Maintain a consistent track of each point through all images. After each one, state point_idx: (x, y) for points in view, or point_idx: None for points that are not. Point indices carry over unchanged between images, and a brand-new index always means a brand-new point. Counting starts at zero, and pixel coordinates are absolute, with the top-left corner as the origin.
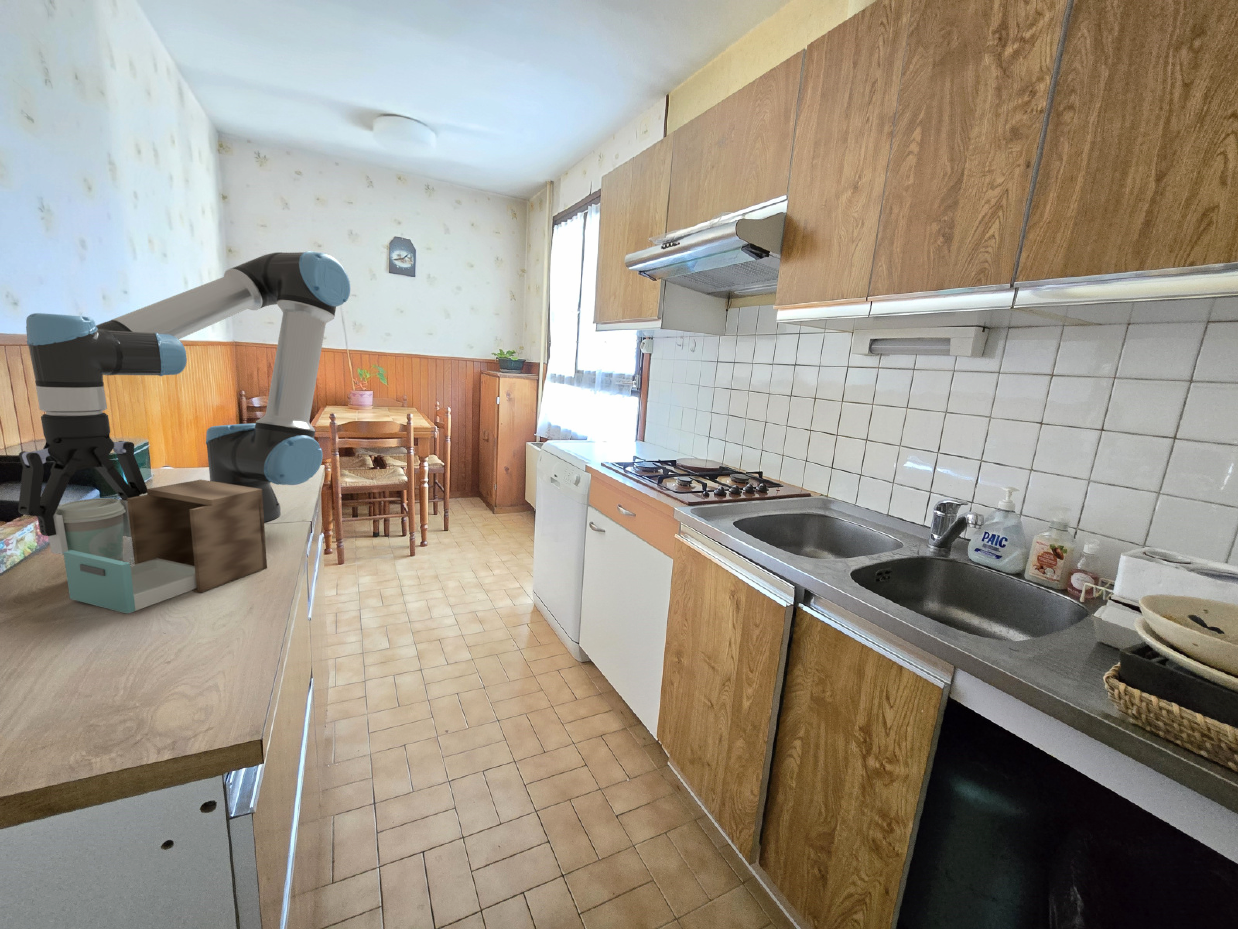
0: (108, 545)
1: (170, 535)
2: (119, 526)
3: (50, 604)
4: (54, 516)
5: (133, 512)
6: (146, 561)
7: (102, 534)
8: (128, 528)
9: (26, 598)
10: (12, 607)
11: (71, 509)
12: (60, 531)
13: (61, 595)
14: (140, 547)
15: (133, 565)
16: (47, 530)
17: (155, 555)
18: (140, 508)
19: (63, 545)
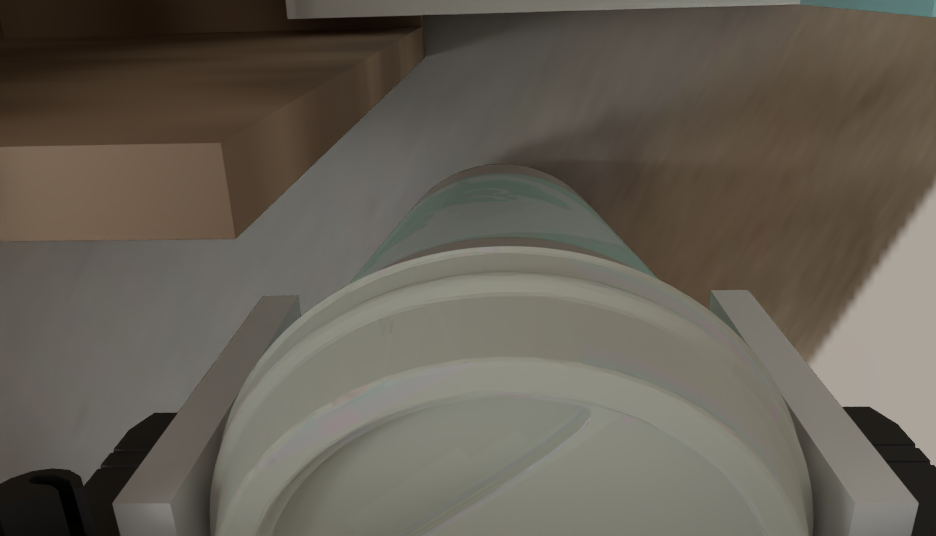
0: (505, 199)
1: (96, 54)
2: (383, 263)
3: (843, 70)
4: (913, 522)
5: (283, 92)
6: (362, 11)
7: (547, 227)
8: (277, 336)
9: (816, 264)
10: (918, 197)
11: None
12: (811, 393)
13: (738, 157)
14: (357, 44)
15: (450, 5)
16: (900, 442)
17: (282, 38)
18: (168, 107)
19: (757, 321)
